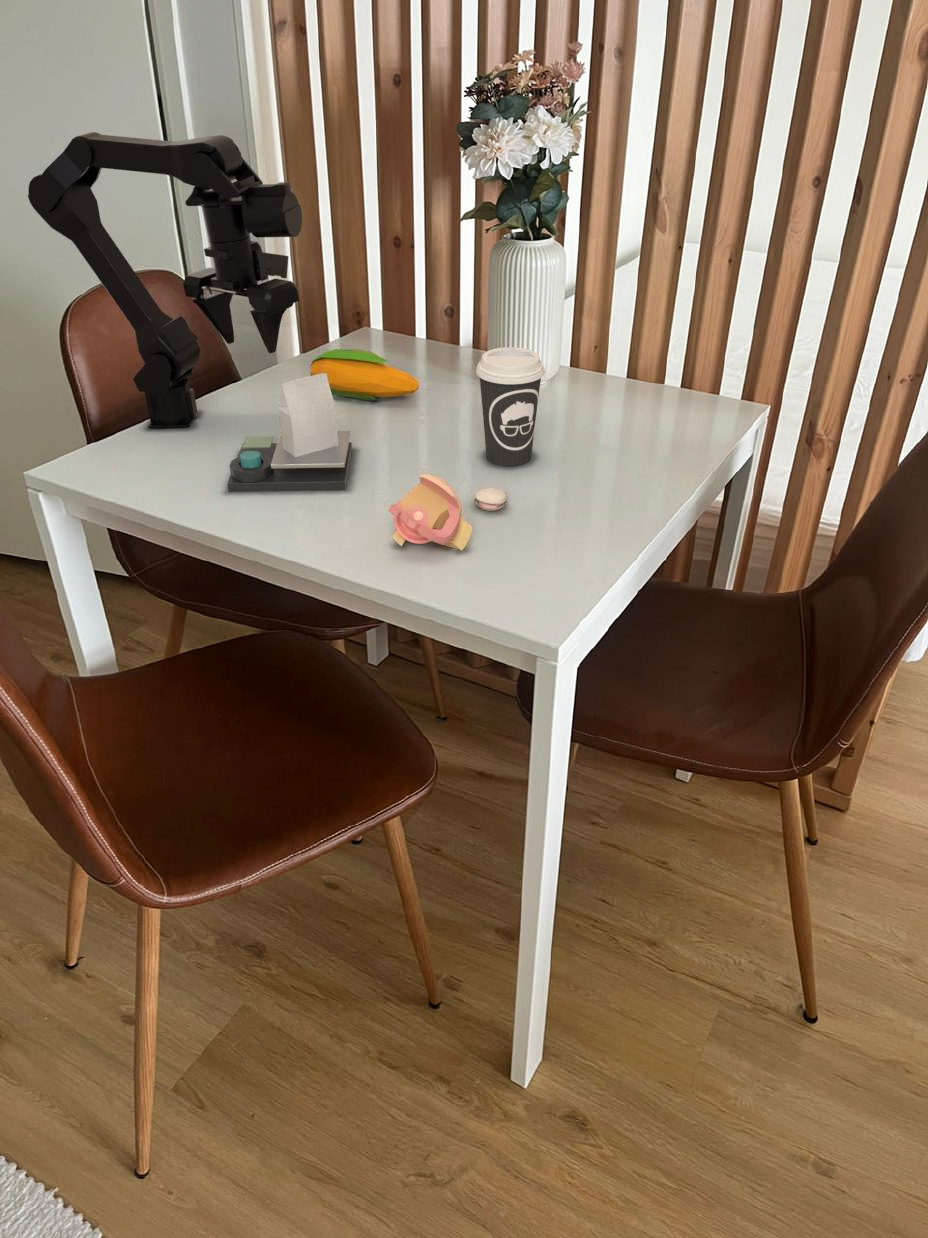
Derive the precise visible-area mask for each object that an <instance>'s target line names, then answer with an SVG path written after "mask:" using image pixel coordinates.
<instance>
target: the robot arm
mask: <svg viewBox="0 0 928 1238" xmlns="http://www.w3.org/2000/svg"><path fill="white" fill-rule="evenodd" d="M102 169H107V170H116V171H118V170H119V171H126V172H128V171H129V172H138V173H145V174H146V173H147V174H155V175H156V174H158V175H166V176H168V177H169V176H170V177H172V178H175V179H177V180H178V181H179V182H181V183H183V184H187V185H190V186H193V188H192V191H191V193H190V195H189V196H188V197H187V198H186V200H185V205H186V206H187V207H201V212H202V217H203V220H204V225H205V230H206V236H207V239H208V245H209V246H208V247H205V248H203V251H204V256H205V257H206V258H207V257H208V258H212V259H211V260H212V263H213V267H206V268H204V269H201V270H198V271H195V272H192V273H190V274H187V275H185V278H184V280H183V282H182V286H183V291H184V296H185V297H188V298H191V301H192V303H193V304H195V305H197V307H198V308H199V309H200V310H201V312H202V313H203V314H204V315H205V316H206V318H207V319H208V320H209V321H210V323H211V324H212V325H213V326H214V328H215V329H216V331H217V332H218V333H219V335H220V336H221V337H222V338H223V340H224V341H225V342H226V344H228V345H231V344H233V343H235V331H234V325H233V317H232V312H231V301H232V300H233V296H234V295H235V296H239V297H245V298H248V303H249V305H250V306H251V307H252V309H253V310H250V312H249V313H250V315H251V317H252V319H253V321H254V324H255V326H256V328H257V331H258V333H259V335H260V337H261V340H262V342H263V345H264V347H265V348H266V350H267V352H268V354H273V353H276V352H277V347H278V342H279V341H278V340H279V334H280V329H281V328H280V327H281V323H282V318H283V316H284V314H285V313H286V311H287V310H288V309H290V308H292V307H293V305H294V304H295V303H296V302H299V301H300V296H299V290H298V289H299V288H298V285H296V284H295V283H294V282H293V281H291V280H287V278H288V269H289V255H283V254H276V253H270V252H263V250H262V246H261V245H260V243H259V242H258V241H254V240H251V235H252V236H254V237H255V238H256V239H257V238H297V237H298V236H299V235H300V233H301V230H302V226H303V225H302V224H303V212H302V206H301V204H300V203H299V201H298V198H297V196H296V194H295V193H294V192H293V191H292V189H291V188H292V187H291V183H290V182H289V181H282V182H278V183H268V184H264V182H263V180H262V179H261V178H260V177H259V175H258V174H257V173H256V172H255V171H254V170H253V168H252V167H251V166H250V165H249V164H248V162H247V161H246V160H245V159H244V158H243V155H242V152H241V151H240V148H239V146H238V145H237V144H236V143H235V141H234V140H233V139H232V138H230V137H229V136H226V135H223V134H222V135H211V136H203V137H202V136H201V137H196V138H190V139H184V140H177V141H176V140H175V141H172V140H161V139H153V138H152V139H151V138H140V137H131V136H130V137H129V136H121V135H120V136H118V135H110V134H109V135H108V134H107V135H106V134H101V133H99V132H96V131H91V132H86V133H84V134H80V135H77V136H75V137H73V138H72V139H71V140H70V142H69V143H68V145H67V146H66V147H65V149H64V150H63V151H62V152H61V153H60V154H59V155H58V156H57V157H56V158H54V160H53V161H52V162H51V163H50V164H49V165H48V166H47V167H45V169H44V171H43V172H42V173H40V174H37V175H36V176H34V177H32V179H31V180H30V181H29V184H28V189H27V190H28V194H27V198H28V202H29V204H30V205H31V207H32V209H33V210H34V211H35V212H36V214H38V215H39V216H40V218H41V219H42V220H43V221H44V222H45V223H46V224H47V226H49V227H50V228H51V229H52V230H54V231H55V232H57V233H59V234H60V235H62V236H63V237H65V238H66V239H67V240H69V241H71V243H73V245H74V246H75V247H76V249H77V250H78V252H79V253H80V255H81V256H82V257H83V259H84V261H85V262H86V263H87V265H88V266H89V267H90V269H91V270H92V272H93V273H94V275H95V276H96V277H97V279H98V280H99V282H100V283H101V285H102V286H103V288H104V289H105V290H106V292H107V293H108V294H109V296H110V297H111V299H112V300H113V301H114V303H115V304H116V306H117V307H118V308H119V310H120V311H121V313H122V315H124V317H125V318H126V320H127V321H128V323H129V324H130V326H131V328H132V329H133V331H134V335H135V340H136V345H137V350H138V351H137V352H138V353H139V355H140V357H141V359H142V360H143V361H142V362H143V363H144V365H142V367H141V368H140V369H139V370H138V372H137V373H136V374H135V375H134V376H133V378H132V380H133V382H134V384H135V386H136V388H137V390H138V391H139V392H142V393H144V396H145V400H146V401H145V402H146V406H147V411H148V415H149V416H148V417H149V421H148V423H147V428H148V429H187V428H190V427H191V425H192V423H193V422H194V420H195V419H196V417H197V415H198V407H197V401H196V393H195V389H193V388H191V387H190V385H191V384H190V380H189V378H188V377H191V376H193V373H194V367H196V365H197V364H198V362H199V360H200V354H201V348H200V346H199V343H198V342H197V340H198V339H199V337H198V336H197V335H196V334H195V333H194V332H193V331H192V330H191V328H190V326H189V324H188V322H187V321H186V319H185V318H184V317H183V315H179V316H177V317H175V318H173V317H171V316H169V315H168V314H166V313H164V312H163V310H162V309H161V308H160V307H159V305H158V304H157V302H156V301H155V300H154V298H153V296H152V295H151V294H150V292H149V291H148V289H147V288H146V286H145V285H144V283H143V282H142V281H141V279H140V278H139V276H138V274H137V273H136V272H135V270H134V269H133V267H132V266H131V264H130V263H129V262H128V260H127V259H126V257H125V255H124V254H123V253H122V251H121V250H120V249H119V247H118V245H117V244H116V243H115V241H114V240H113V238H112V237H111V235H110V234H109V232H108V231H107V229H106V228H105V226H104V225H103V223H102V220H101V215H100V210H99V203H98V200H97V198H96V195H95V194H94V192H93V190H92V188H93V187H94V185H95V184H96V182H97V181H98V179H99V177H100V175H101V172H102ZM234 180H236V181H234ZM269 277H280V278H281V279H279V278H273V279H270V280H268V279H269ZM266 280H267V281H266ZM260 281H262V282H261V283H259V282H260ZM263 281H265V282H263Z"/></svg>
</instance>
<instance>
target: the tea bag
mask: <svg viewBox="0 0 928 1238" xmlns="http://www.w3.org/2000/svg"><path fill="white" fill-rule="evenodd" d="M278 414H279V415H278V416H279V425H280V434H281V433H282V442H283V448H284V449H285V450H286V451H288V452H289V453H290V454H292V455H293V456H294V457H299V456H302V455H306V454H309V453H313V452H316V451H320V450H324V449H327V448H331V447H334V446H338V435H337V431H338V425H337V423H338V422H337V414H336V403H335V400H334V396H333V392H331V390H330V386H329V382H328V378H327V373H321V374H317V375H313V376H311V375H310V376H309V375H308V376H305V377H301V378H297V379H293V380H288V381H285V382H280V394H279V403H278Z"/></svg>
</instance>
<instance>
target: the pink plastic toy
mask: <svg viewBox="0 0 928 1238" xmlns="http://www.w3.org/2000/svg"><path fill="white" fill-rule="evenodd" d="M462 510H463V507H462V503H461V500H460V498H459V496H458V494H457V493H456V491H455V490H454V488H453V487H452V485H450V484H449V483H448V482H446V481H445V480H444V479H442V478H441V477H438V476H436V475H434V474H429V473H426V474H425V473H424V474H421V475H419V483H418V484H417V485H415V486H414V487H413V488H412V489H411V490H410V491H408V492H407V493H406V494H405V495H404V496H403V497H402V498H401V499H400V500H399V501H398V502H396V503H394V504H393V503H392V504H390V506H389V507H388V513H390V514H391V515H392V516H393V517H392V518H393V519H392V520H393V525H394V528H395V530H394V532H393V534H392V538H393V540H394V541H395V542H396V543H397V544H398V546H401V547H402V546H403V545H404V543H405V542H406V541H407V542H410V543H413V544H417V545H421V544H427V543H430V542H433V543H436V544H439V545H441V546H446V547H449V548H453V549H457V550H459V551H461V552H463V551H464V549H465V547H466V546H467V544H468V542H469V540H470V538H471V536H472V532H473V528H474V527H473V526H472V525H470V524H469V522H467V521H466V519H464V518H463V516H462Z"/></svg>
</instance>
